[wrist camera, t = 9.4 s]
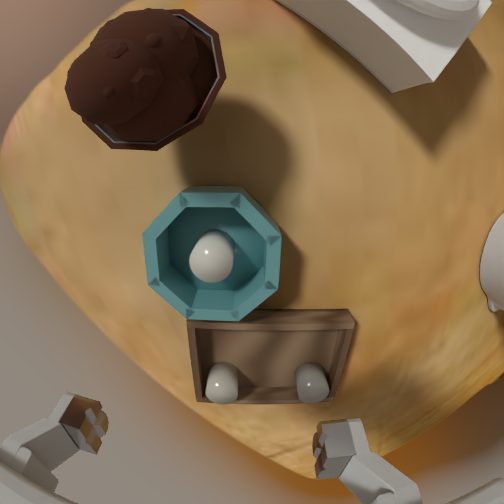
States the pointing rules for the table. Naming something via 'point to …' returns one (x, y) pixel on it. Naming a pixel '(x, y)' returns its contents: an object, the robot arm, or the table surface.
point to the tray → (271, 351)
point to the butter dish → (395, 33)
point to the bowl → (185, 238)
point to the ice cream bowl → (147, 78)
